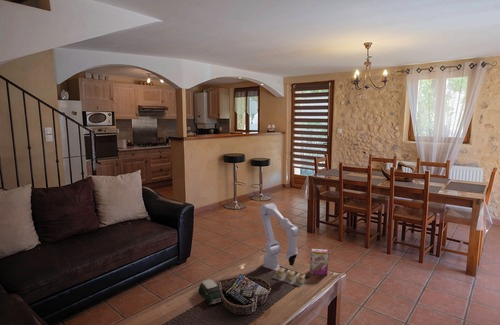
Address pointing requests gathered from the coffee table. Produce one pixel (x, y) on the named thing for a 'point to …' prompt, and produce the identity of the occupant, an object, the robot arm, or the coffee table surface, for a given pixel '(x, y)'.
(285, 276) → the mat
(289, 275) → the plain block
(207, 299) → the miniature car
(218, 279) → the coffee table surface
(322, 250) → the candy bar box
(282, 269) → the block one
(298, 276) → the block two
